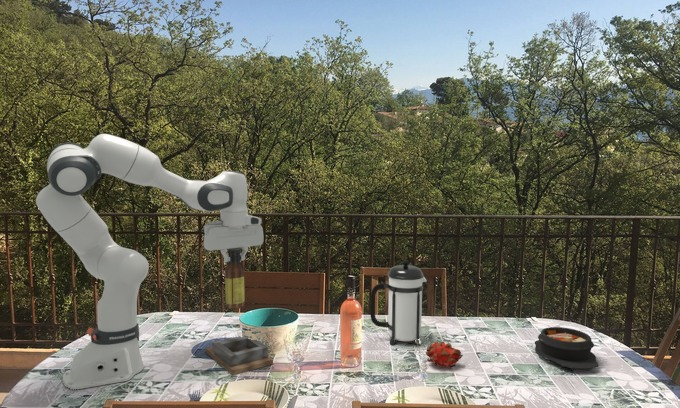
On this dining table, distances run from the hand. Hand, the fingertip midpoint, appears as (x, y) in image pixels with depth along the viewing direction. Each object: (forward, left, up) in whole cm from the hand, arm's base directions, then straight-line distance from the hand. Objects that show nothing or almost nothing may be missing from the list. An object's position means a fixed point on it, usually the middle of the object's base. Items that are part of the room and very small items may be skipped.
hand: (234, 261), depth 163 cm
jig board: (-1, -4, -32) cm, 32 cm away
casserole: (+87, -68, -32) cm, 115 cm away
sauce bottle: (0, 0, -16) cm, 16 cm away
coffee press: (+54, -24, -32) cm, 67 cm away
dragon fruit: (+50, -48, -32) cm, 76 cm away
